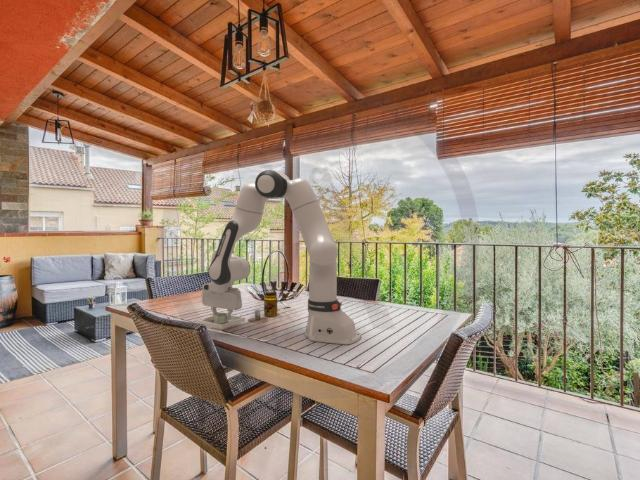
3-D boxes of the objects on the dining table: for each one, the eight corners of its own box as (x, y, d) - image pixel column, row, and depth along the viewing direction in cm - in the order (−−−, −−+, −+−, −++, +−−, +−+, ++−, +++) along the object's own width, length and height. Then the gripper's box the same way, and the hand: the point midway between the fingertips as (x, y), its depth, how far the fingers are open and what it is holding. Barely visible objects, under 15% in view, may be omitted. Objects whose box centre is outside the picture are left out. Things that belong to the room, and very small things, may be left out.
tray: (244, 322, 154) (244, 317, 154) (222, 330, 142) (222, 325, 142) (221, 318, 161) (221, 313, 161) (198, 326, 148) (197, 320, 148)
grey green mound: (271, 320, 158) (271, 309, 158) (259, 325, 150) (259, 313, 150) (255, 318, 162) (255, 307, 162) (243, 322, 154) (243, 311, 154)
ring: (231, 320, 152) (231, 314, 152) (221, 324, 147) (221, 317, 147) (221, 318, 155) (221, 312, 155) (211, 321, 150) (211, 314, 150)
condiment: (264, 319, 160) (264, 294, 159) (261, 315, 168) (261, 290, 167) (279, 318, 162) (280, 293, 161) (276, 314, 170) (276, 289, 170)
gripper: (245, 287, 149) (245, 319, 149) (210, 283, 158) (210, 313, 159) (235, 289, 143) (235, 322, 144) (199, 285, 152) (199, 316, 153)
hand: (221, 317), depth 151 cm, fingers closed on ring, 6 cm apart
